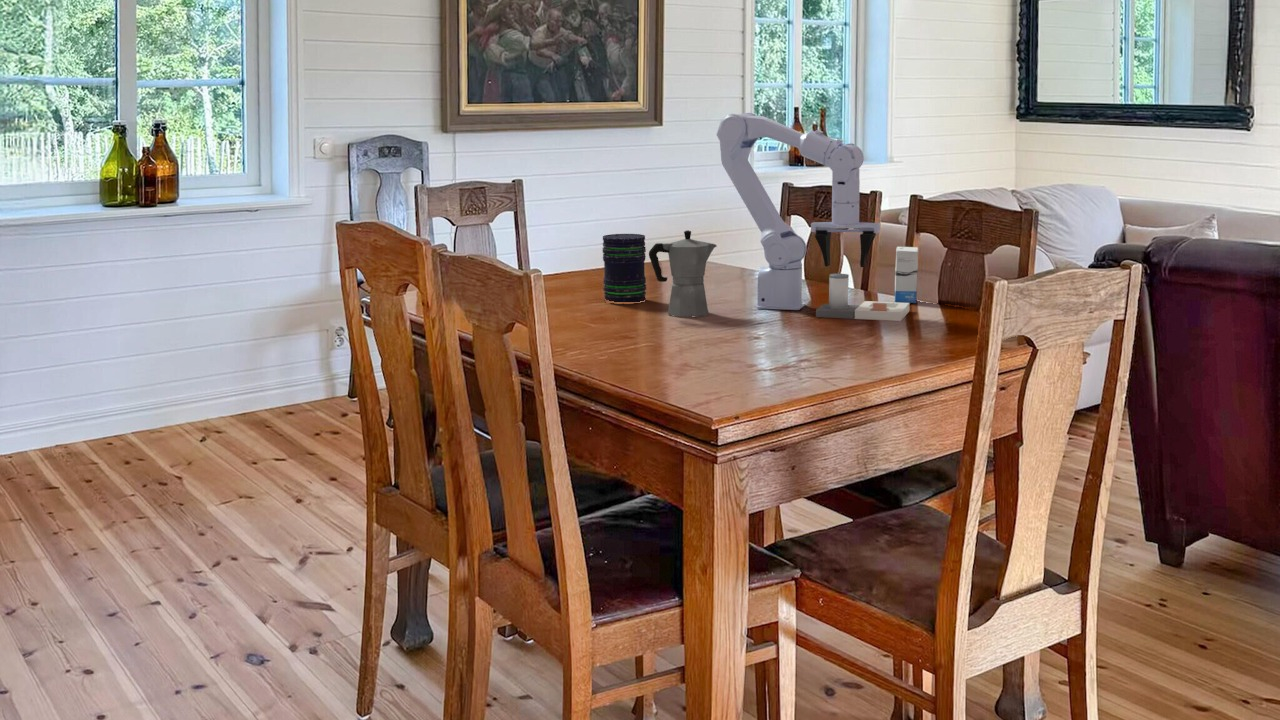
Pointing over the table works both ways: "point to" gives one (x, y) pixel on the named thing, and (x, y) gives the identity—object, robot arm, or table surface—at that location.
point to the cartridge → (838, 291)
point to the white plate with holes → (893, 312)
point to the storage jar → (624, 267)
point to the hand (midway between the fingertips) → (845, 266)
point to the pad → (836, 312)
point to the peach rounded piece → (879, 307)
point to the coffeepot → (685, 274)
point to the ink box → (906, 274)
